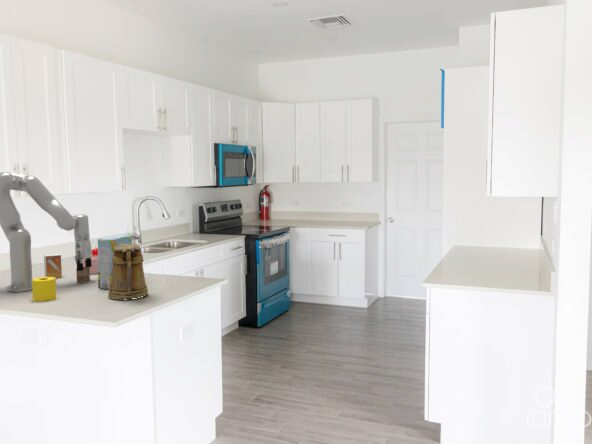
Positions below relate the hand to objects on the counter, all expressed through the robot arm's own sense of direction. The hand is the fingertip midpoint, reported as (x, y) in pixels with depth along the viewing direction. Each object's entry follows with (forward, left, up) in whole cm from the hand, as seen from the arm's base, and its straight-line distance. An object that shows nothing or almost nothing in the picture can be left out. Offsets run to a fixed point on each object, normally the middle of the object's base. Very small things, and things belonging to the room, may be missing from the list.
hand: (84, 268), depth 287 cm
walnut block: (-1, +1, -7) cm, 7 cm away
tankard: (-33, -37, -8) cm, 50 cm away
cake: (+30, +7, -8) cm, 32 cm away
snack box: (-7, -20, -8) cm, 23 cm away
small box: (+10, +24, -8) cm, 27 cm away
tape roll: (-38, +2, -8) cm, 38 cm away
